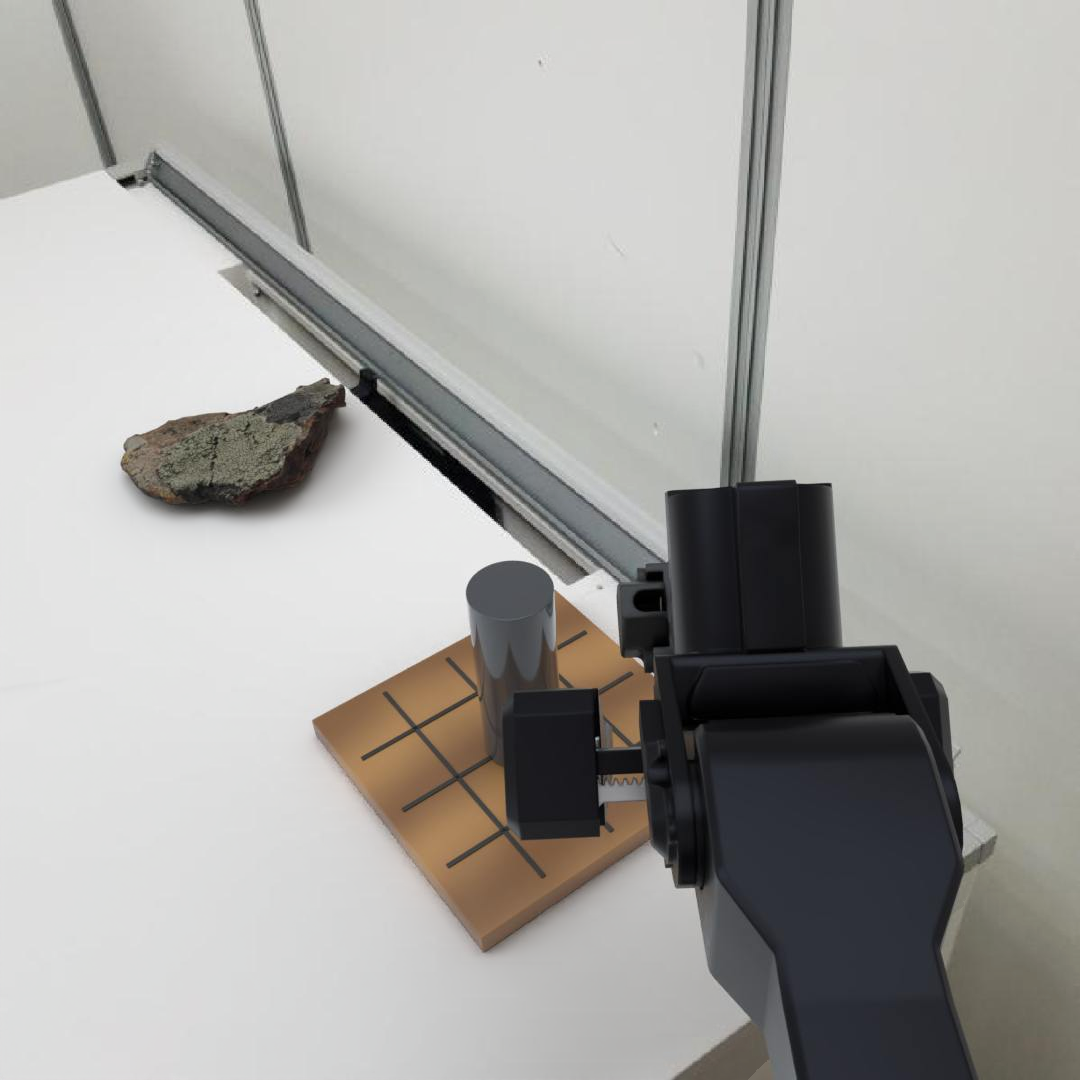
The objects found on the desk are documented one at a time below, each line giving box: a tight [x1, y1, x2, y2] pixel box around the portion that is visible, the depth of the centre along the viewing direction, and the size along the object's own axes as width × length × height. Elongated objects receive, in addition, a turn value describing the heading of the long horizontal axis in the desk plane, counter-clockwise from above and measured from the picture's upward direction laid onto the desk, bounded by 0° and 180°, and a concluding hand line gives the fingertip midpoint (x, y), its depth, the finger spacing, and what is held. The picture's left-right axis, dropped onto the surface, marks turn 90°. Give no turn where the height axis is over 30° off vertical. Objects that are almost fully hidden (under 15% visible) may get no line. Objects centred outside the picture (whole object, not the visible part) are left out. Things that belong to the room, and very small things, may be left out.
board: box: [311, 588, 655, 953], centre depth 74 cm, size 20×20×2 cm
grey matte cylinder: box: [465, 559, 560, 766], centre depth 69 cm, size 5×5×13 cm
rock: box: [119, 377, 347, 508], centre depth 99 cm, size 20×17×5 cm
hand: (699, 736), depth 57 cm, fingers open, 9 cm apart
